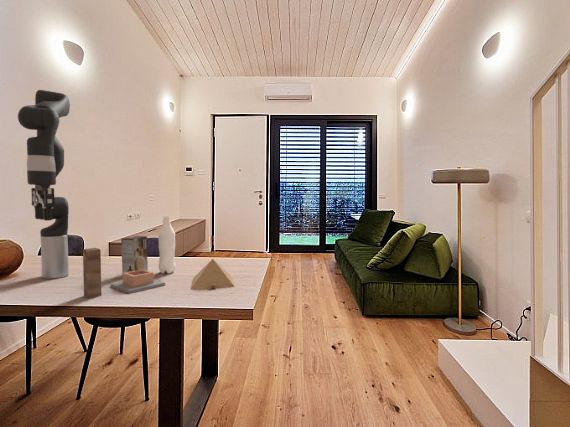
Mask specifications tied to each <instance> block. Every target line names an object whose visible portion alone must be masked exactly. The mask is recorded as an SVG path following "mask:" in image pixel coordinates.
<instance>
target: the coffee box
mask: <svg viewBox="0 0 570 427" xmlns="http://www.w3.org/2000/svg"><path fill="white" fill-rule="evenodd" d="M120 241H121V244H120V245H121V264H122V265H121V268H122V269H121V272H122V273H125V272H131V271H137V270H142V269H143V270H147V271H149V270H148V268H149V267H148V236H146V235H145V236H143V235H133V236H127V237H123V238H122V237H121V238H120Z"/></svg>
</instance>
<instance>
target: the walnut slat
mask: <svg viewBox="0 0 570 427" xmlns="http://www.w3.org/2000/svg"><path fill="white" fill-rule="evenodd" d="M101 256H102V255H101V248H97V247H92V248H84V249H82V268H83V270H82V271H83V272H82V274H83V297H85V298H87V299H91V298H97V297H101V296H102V257H101Z"/></svg>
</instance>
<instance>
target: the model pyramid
mask: <svg viewBox="0 0 570 427" xmlns="http://www.w3.org/2000/svg"><path fill="white" fill-rule="evenodd" d="M191 280H192V281H191V284H190V285H191V286H190V290H205V289H208V288H209V289H208V290H212V289H214V288H215V290H216V289H224V288H225V287H228V288H235V287H236V286H235V283H234V279H233V276H232V275H231V274H230V273H229V272H227V270H225V268H223V267H222V265H220V264H219V263H218V262H217V261H216V260H215V259H214V258H212V259H210V261H208V263H207V264H206V265H204V267H203V268H202V269H201V270H200V271H199V272H198V273H197V274H196V275H194V276H193V278H192V279H191Z"/></svg>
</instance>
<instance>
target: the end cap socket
mask: <svg viewBox="0 0 570 427" xmlns="http://www.w3.org/2000/svg"><path fill="white" fill-rule="evenodd" d="M154 274H155V273H154V272H153V271H149V270H148V271H147V270H143V269H142V270H137V271H131V272H125V273H122V277H121V278H122V281H118V282H113V283H110V287H111V288H113V289H117V290H119V291H122V292H124V293H126V294H133V293H137V292H142V291H145V290H150V289H156V288H158V287H163V286H166V282H164V281H161V280H158V279H155V278H154V277H155V275H154Z"/></svg>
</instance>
